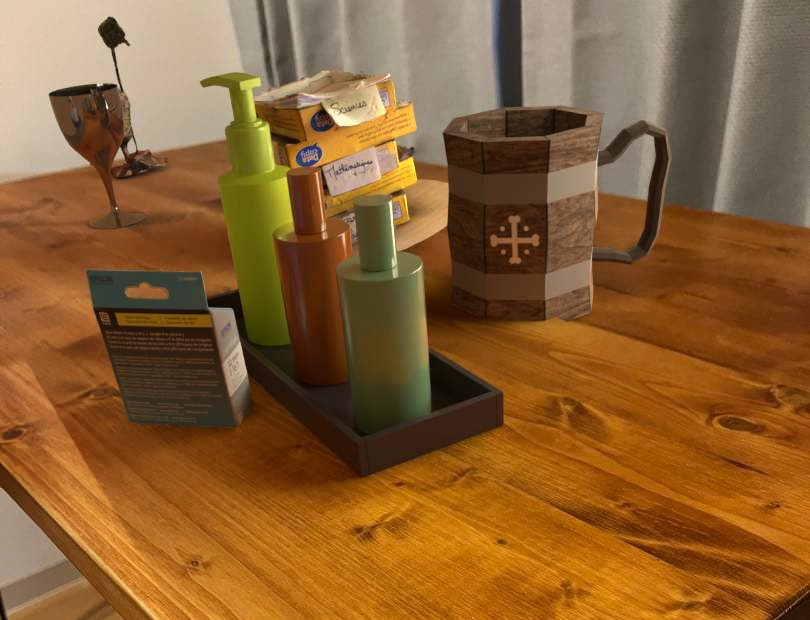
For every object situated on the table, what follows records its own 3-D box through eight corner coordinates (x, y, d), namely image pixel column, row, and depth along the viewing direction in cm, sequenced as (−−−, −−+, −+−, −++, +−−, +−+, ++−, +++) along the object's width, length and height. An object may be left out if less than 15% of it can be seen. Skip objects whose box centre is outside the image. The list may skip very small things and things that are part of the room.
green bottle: (378, 446, 59) (353, 220, 50) (340, 415, 63) (311, 200, 54) (447, 421, 61) (436, 199, 52) (407, 392, 65) (389, 182, 56)
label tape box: (258, 412, 66) (225, 250, 59) (238, 439, 63) (201, 271, 56) (152, 407, 68) (108, 249, 61) (127, 433, 65) (78, 270, 58)
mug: (467, 340, 74) (461, 150, 65) (434, 285, 84) (425, 116, 76) (688, 308, 76) (712, 119, 67) (629, 258, 86) (642, 91, 78)
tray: (362, 488, 56) (357, 444, 54) (198, 336, 79) (190, 301, 77) (504, 434, 61) (503, 391, 59) (310, 304, 83) (305, 270, 81)
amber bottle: (314, 393, 66) (282, 186, 57) (283, 367, 70) (250, 171, 61) (378, 372, 68) (357, 169, 59) (345, 348, 72) (321, 156, 63)
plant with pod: (95, 171, 134) (54, 21, 122) (169, 161, 136) (135, 12, 124) (93, 184, 128) (50, 27, 116) (171, 172, 130) (136, 17, 118)
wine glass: (102, 233, 107) (65, 99, 98) (75, 222, 112) (37, 93, 103) (160, 217, 111) (129, 86, 102) (131, 207, 116) (99, 81, 107)
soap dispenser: (280, 311, 80) (238, 65, 68) (328, 328, 76) (294, 70, 64) (227, 332, 77) (174, 79, 65) (275, 352, 73) (228, 85, 61)
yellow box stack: (257, 294, 86) (224, 109, 76) (234, 224, 106) (205, 70, 96) (495, 256, 90) (492, 75, 80) (430, 196, 110) (422, 44, 100)
